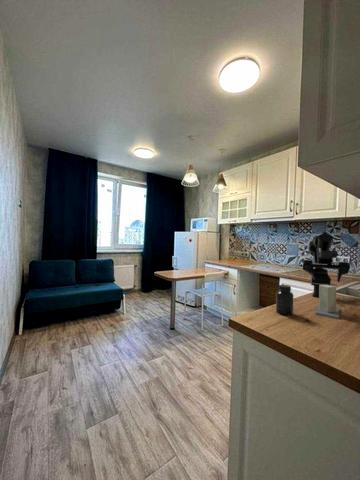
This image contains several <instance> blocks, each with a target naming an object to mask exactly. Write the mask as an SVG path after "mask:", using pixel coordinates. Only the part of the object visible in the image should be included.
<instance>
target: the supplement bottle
mask: <svg viewBox="0 0 360 480" xmlns="http://www.w3.org/2000/svg"><path fill="white" fill-rule="evenodd" d="M291 287H292V286H291V285H287V284H279V285H278V287H277V288H278V291H277V292H276V293H275V308H276V309H275V311H276V313H278V315H282V316H292V315H294V294H293V292H292V289H291Z"/></svg>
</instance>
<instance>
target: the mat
mask: <svg viewBox="0 0 360 480" xmlns="http://www.w3.org/2000/svg"><path fill="white" fill-rule="evenodd" d="M315 315H318V316H322V317H329V318H331V319H332V318H333V319H337V320H339V319H340V308H339V307H337V306H336V312H326V311H323V310H321V309H319V303H318V305H317V307H316V311H315Z"/></svg>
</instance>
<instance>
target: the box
mask: <svg viewBox="0 0 360 480" xmlns="http://www.w3.org/2000/svg"><path fill="white" fill-rule="evenodd" d="M318 300H319V301H318V304H319V309H321V310H323V311H326V312H336V307H337V287H336V286H333V285H331V284H330V285H319V297H318Z"/></svg>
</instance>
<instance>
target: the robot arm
mask: <svg viewBox="0 0 360 480" xmlns="http://www.w3.org/2000/svg"><path fill="white" fill-rule="evenodd" d="M312 237H313V238H312V240H311V241H310V242H309V243H308V252H309V254H310V256H312V257H313V260H311V259H305V260H303V261H302V270H303V271H305V272H307V273H308V274H309V275H310V285H311V286H313V293H312V295H311V296H312V297H314V298H319V285H330V286H331V282H332V278H331V276H330V275H329V272H328V269H329V270H337V274H336V276H337V278H336V279H337V282H338V283H340V280H341V278H342V277H343V275H346V274H349V271H350V268H351V264H350V263H349V261H348V262H347V261H338V264H334V263H333V261H334V260H333V259H337V258H338V251H337V250H330V249H331V248H332V245H333V244H334V240H333V239H334V237H333V236H332V235H331V234H329V233H328V232H322V234H320V235H318V236H312ZM332 263H333V264H332Z"/></svg>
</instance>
